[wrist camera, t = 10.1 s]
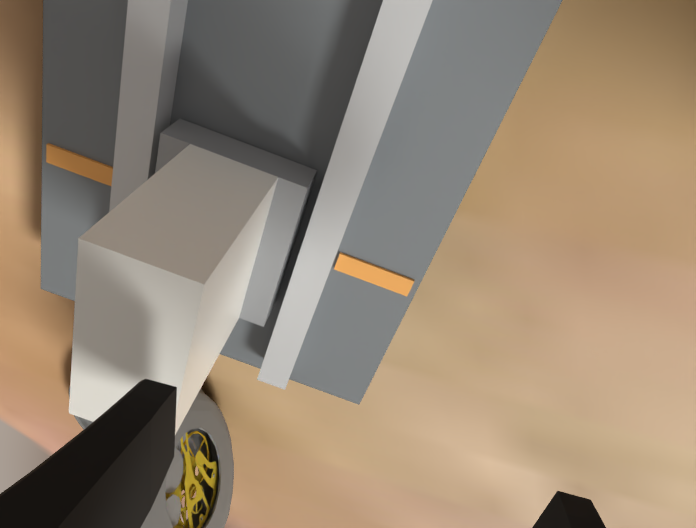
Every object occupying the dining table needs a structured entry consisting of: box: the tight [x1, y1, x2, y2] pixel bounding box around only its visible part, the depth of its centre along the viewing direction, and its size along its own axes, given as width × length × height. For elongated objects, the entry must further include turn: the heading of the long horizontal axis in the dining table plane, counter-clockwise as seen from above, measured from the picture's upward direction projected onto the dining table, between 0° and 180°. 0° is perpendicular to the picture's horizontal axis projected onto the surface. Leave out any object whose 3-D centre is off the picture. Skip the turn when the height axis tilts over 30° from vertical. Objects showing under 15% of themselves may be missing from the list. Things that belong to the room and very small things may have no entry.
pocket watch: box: [69, 388, 234, 528], centre depth 20 cm, size 8×8×10 cm
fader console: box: [41, 0, 562, 404], centre depth 14 cm, size 12×23×3 cm, turn 162°
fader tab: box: [69, 119, 317, 435], centre depth 14 cm, size 4×5×6 cm
